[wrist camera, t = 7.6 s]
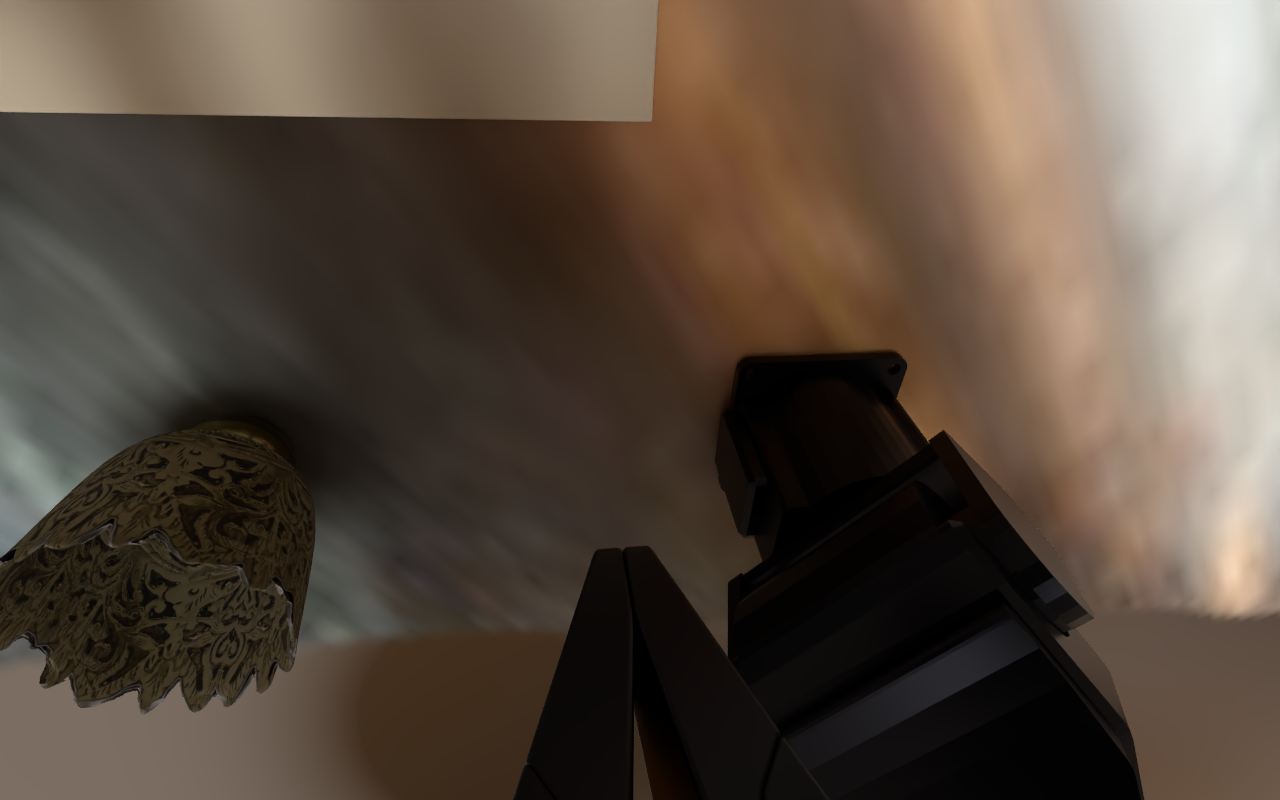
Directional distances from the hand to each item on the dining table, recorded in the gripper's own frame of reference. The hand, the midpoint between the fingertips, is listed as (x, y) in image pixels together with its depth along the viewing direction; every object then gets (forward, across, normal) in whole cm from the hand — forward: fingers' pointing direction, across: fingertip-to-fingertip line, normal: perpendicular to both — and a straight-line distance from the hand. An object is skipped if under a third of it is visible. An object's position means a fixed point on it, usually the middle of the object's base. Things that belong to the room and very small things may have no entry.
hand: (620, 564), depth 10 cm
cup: (+13, +12, +8) cm, 20 cm away
